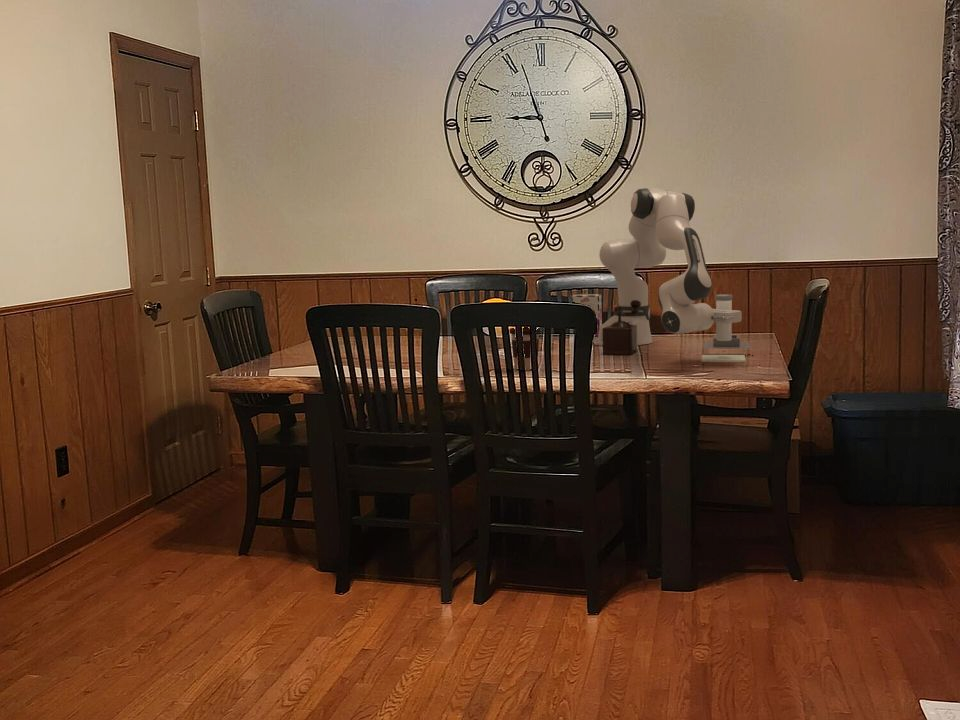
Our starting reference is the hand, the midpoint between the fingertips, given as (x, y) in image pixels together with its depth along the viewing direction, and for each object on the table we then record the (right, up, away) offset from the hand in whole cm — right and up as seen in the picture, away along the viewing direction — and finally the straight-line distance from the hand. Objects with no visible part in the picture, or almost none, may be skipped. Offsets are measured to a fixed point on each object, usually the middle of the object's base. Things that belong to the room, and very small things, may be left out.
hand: (725, 312), depth 349 cm
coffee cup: (-67, -19, -6) cm, 70 cm away
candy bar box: (-39, -6, +69) cm, 79 cm away
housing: (+6, -11, +26) cm, 29 cm away
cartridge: (0, -9, +1) cm, 9 cm away
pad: (0, -15, +2) cm, 15 cm away
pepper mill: (-31, -13, +24) cm, 41 cm away
